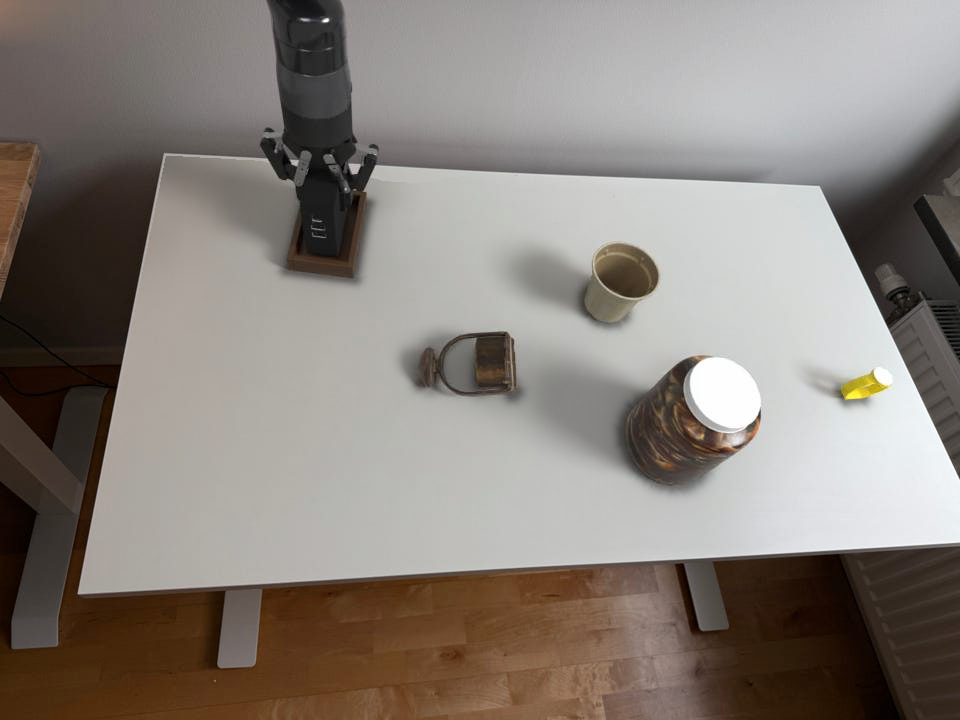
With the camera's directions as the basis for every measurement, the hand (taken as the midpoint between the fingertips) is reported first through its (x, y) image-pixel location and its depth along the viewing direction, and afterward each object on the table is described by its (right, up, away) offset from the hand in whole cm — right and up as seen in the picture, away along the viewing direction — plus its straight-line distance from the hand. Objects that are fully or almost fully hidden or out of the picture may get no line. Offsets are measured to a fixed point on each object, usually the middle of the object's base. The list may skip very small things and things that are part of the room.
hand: (325, 203), depth 79 cm
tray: (-1, -3, +6) cm, 7 cm away
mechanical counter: (+19, -22, -1) cm, 29 cm away
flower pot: (+38, -13, +8) cm, 41 cm away
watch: (+73, -26, +7) cm, 78 cm away
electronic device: (-1, -3, +5) cm, 5 cm away
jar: (+44, -31, -1) cm, 54 cm away
